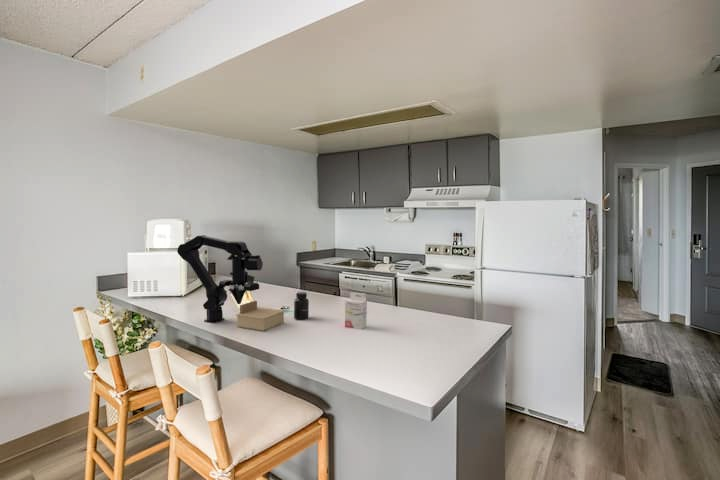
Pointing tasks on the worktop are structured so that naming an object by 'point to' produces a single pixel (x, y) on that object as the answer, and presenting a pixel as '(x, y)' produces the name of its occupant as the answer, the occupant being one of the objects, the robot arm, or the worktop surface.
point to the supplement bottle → (301, 306)
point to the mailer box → (260, 322)
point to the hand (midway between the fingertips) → (239, 304)
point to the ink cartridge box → (356, 311)
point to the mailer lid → (257, 311)
